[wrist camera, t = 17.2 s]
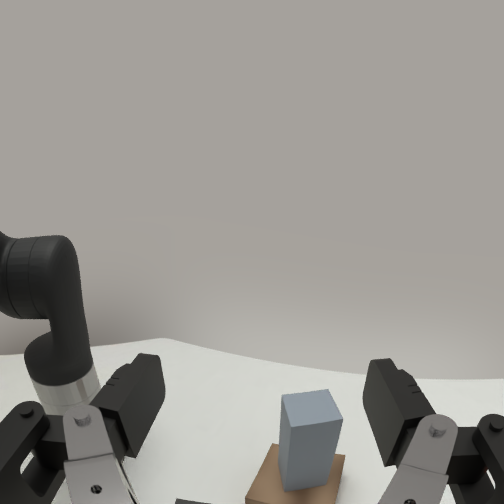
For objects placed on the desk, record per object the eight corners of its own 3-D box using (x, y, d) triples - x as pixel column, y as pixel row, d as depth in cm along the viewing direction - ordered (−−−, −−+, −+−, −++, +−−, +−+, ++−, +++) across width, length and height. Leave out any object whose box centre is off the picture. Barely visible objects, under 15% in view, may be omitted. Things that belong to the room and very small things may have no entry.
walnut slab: (245, 514, 26) (245, 497, 25) (270, 463, 36) (272, 443, 35) (324, 530, 23) (331, 514, 22) (338, 475, 32) (345, 455, 31)
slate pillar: (284, 491, 26) (291, 427, 24) (277, 462, 31) (281, 394, 29) (326, 484, 27) (343, 418, 24) (316, 457, 31) (328, 389, 29)
